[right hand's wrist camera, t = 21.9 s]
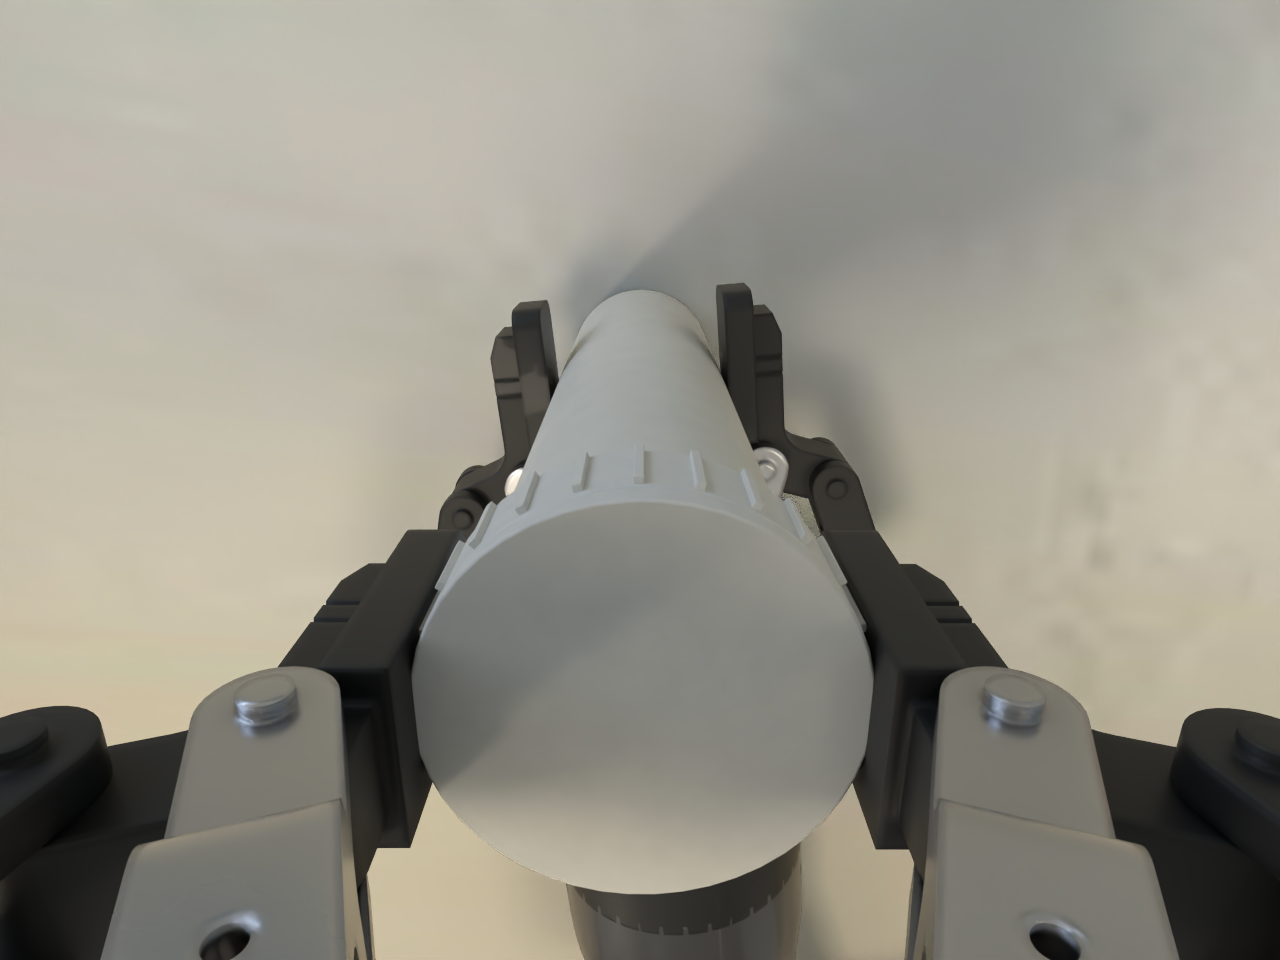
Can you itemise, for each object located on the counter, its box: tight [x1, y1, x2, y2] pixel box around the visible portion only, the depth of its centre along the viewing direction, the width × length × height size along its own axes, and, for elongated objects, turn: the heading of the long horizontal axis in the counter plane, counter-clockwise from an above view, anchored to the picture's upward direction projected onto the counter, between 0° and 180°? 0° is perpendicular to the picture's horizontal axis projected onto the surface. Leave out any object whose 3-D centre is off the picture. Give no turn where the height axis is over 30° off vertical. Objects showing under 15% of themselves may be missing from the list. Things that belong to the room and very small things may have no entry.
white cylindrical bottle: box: [514, 290, 769, 491], centre depth 18 cm, size 4×4×19 cm
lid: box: [411, 444, 874, 894], centre depth 10 cm, size 5×5×2 cm
